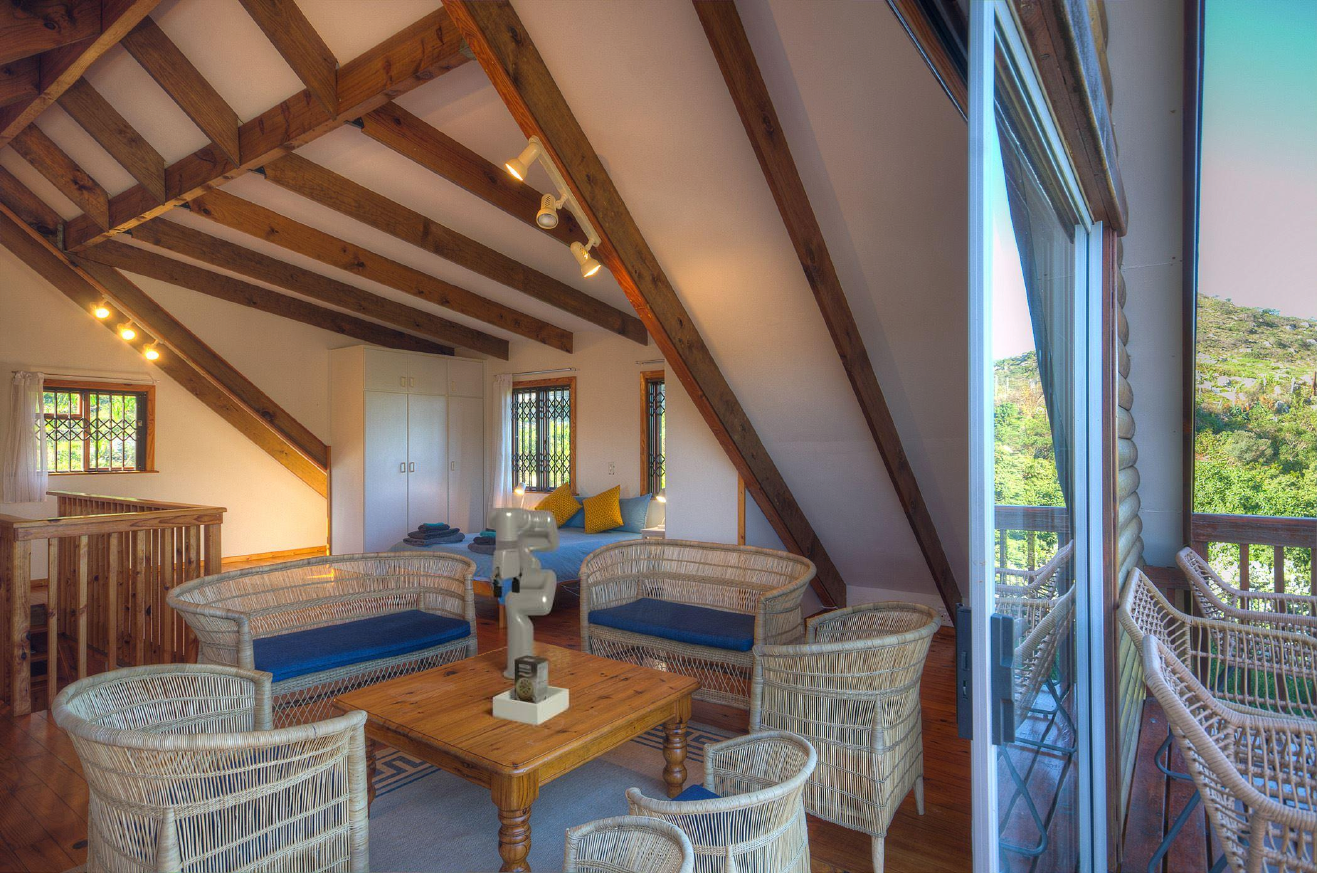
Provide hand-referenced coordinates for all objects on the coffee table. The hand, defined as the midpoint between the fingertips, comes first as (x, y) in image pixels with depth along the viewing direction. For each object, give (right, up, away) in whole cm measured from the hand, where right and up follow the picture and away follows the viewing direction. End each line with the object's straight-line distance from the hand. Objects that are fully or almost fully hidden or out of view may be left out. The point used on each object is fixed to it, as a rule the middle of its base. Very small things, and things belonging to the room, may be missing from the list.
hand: (506, 595), depth 256 cm
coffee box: (+12, -32, -21) cm, 40 cm away
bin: (+12, -33, -21) cm, 41 cm away
